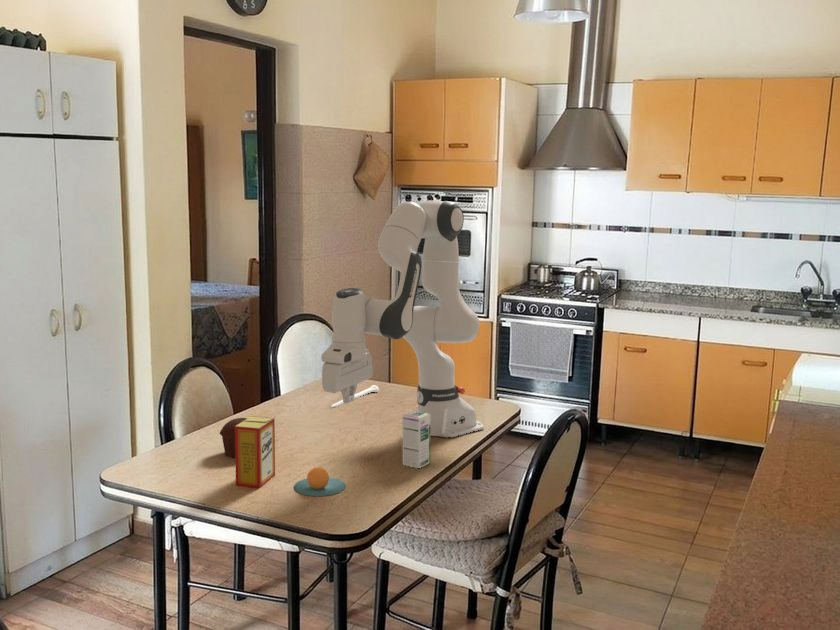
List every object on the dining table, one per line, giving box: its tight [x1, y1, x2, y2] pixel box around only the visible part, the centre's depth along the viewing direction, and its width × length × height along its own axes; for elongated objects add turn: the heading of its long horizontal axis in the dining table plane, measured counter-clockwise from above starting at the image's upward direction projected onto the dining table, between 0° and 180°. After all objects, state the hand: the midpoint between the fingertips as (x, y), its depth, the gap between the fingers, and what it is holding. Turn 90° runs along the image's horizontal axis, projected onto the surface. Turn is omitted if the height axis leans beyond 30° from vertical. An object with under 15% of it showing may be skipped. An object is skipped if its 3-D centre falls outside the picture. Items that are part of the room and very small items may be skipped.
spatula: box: [330, 384, 380, 409], centre depth 292 cm, size 28×4×3 cm, turn 152°
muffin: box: [219, 417, 249, 459], centre depth 232 cm, size 12×11×10 cm
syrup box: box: [402, 410, 432, 469], centre depth 226 cm, size 6×6×14 cm
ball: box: [306, 466, 330, 489], centre depth 207 cm, size 6×6×6 cm
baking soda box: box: [234, 415, 276, 489], centre depth 211 cm, size 10×6×16 cm
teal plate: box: [293, 476, 347, 497], centre depth 209 cm, size 13×13×1 cm
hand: (348, 401), depth 218 cm, fingers closed
